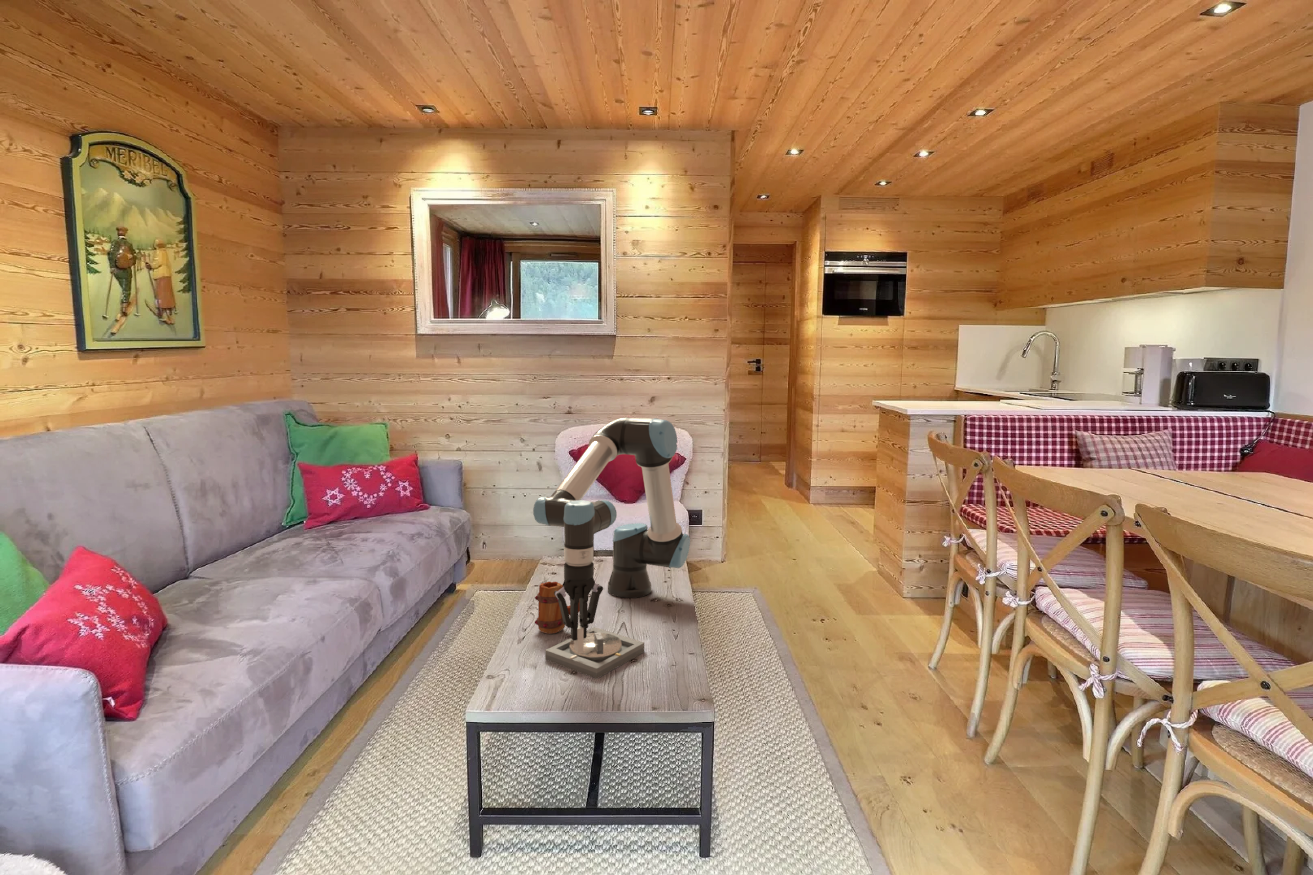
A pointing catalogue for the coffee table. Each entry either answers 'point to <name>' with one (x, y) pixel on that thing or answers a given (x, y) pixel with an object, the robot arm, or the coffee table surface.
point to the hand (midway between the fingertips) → (578, 650)
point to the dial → (598, 646)
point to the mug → (549, 608)
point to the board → (599, 668)
